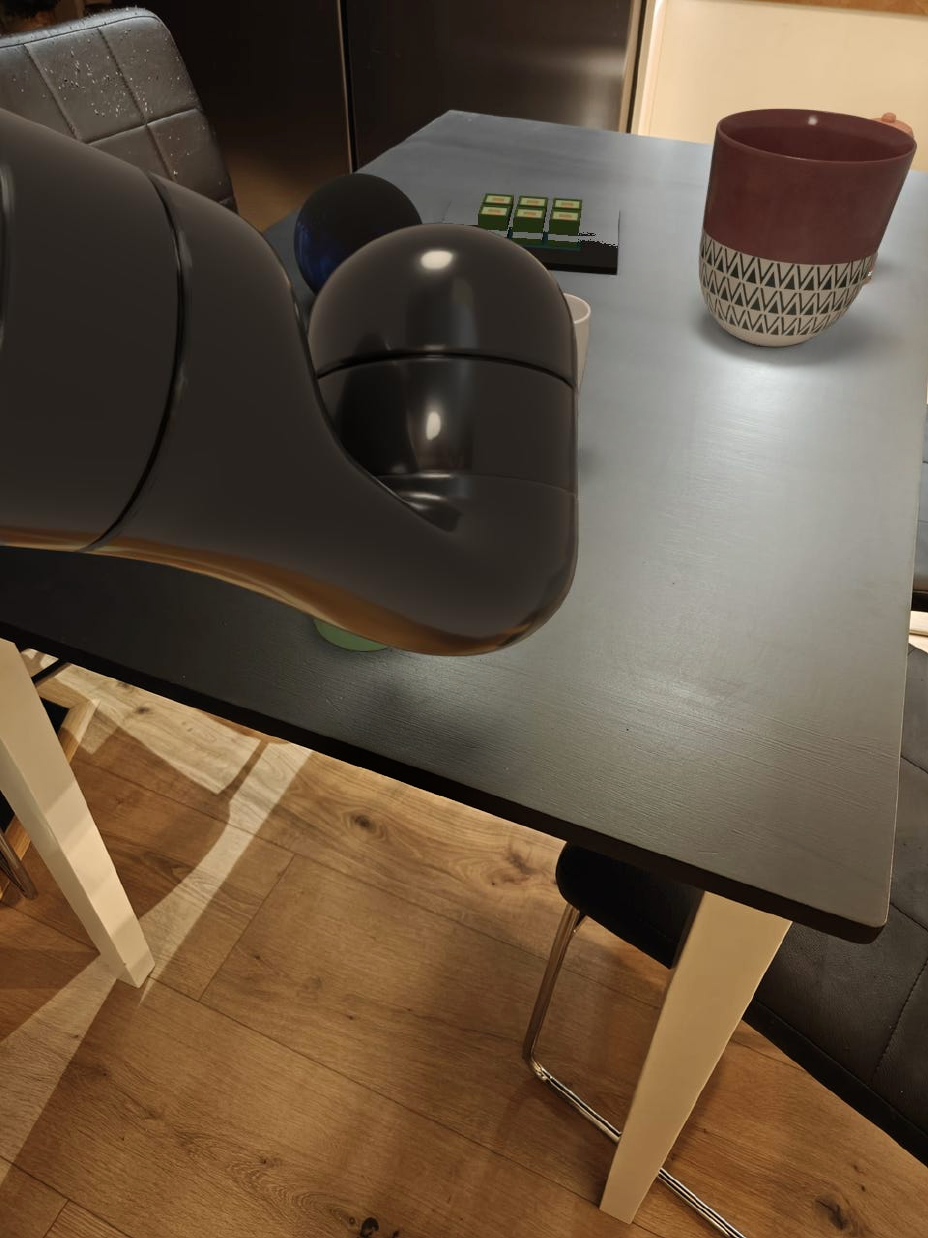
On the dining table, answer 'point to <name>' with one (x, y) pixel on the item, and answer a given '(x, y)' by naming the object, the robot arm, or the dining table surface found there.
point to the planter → (795, 218)
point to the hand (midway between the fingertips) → (373, 576)
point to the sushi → (561, 222)
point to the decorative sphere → (346, 222)
